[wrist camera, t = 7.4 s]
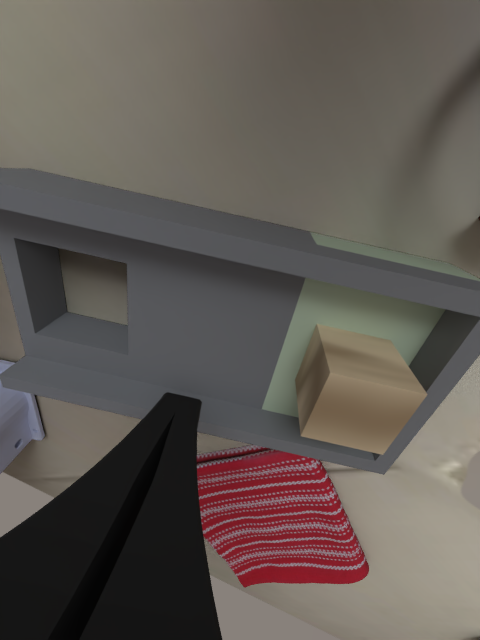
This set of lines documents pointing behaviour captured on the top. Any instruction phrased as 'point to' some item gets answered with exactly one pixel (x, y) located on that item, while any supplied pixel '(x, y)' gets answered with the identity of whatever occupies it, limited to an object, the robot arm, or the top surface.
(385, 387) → the maple block
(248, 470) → the dish towel
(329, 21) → the top surface
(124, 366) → the tray
